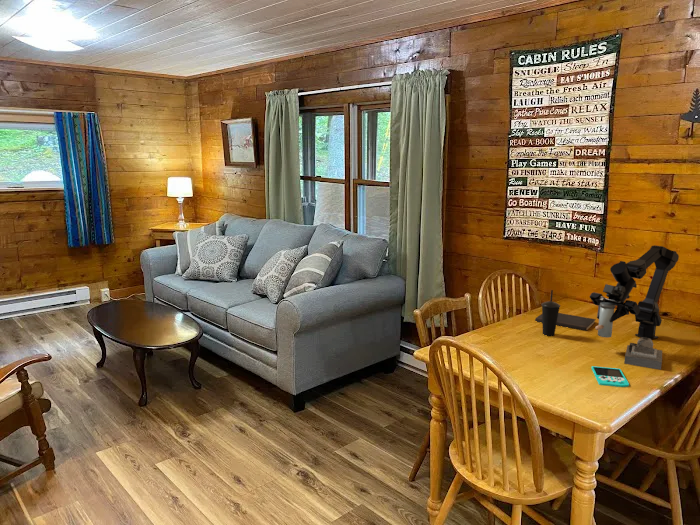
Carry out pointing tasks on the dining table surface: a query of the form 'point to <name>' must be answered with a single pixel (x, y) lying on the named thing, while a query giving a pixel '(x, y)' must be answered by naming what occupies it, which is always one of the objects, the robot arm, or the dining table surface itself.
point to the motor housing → (643, 354)
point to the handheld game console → (610, 376)
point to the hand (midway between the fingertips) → (604, 320)
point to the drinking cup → (549, 316)
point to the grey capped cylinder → (605, 319)
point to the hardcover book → (571, 321)
